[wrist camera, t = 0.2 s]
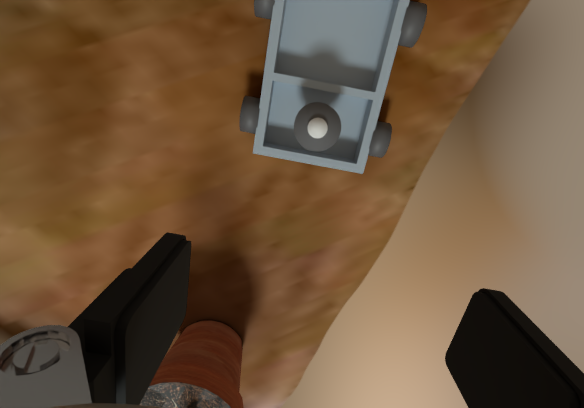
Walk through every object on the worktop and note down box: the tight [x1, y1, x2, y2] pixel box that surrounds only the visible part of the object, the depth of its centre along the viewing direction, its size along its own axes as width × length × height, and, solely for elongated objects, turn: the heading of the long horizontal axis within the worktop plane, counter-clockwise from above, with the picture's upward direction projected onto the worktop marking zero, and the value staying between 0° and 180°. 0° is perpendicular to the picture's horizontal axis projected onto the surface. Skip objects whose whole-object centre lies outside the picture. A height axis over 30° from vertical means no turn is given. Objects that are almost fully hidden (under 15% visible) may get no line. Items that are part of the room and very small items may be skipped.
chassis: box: [240, 0, 427, 174], centre depth 34 cm, size 20×17×4 cm
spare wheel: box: [294, 102, 341, 151], centre depth 32 cm, size 5×5×2 cm
